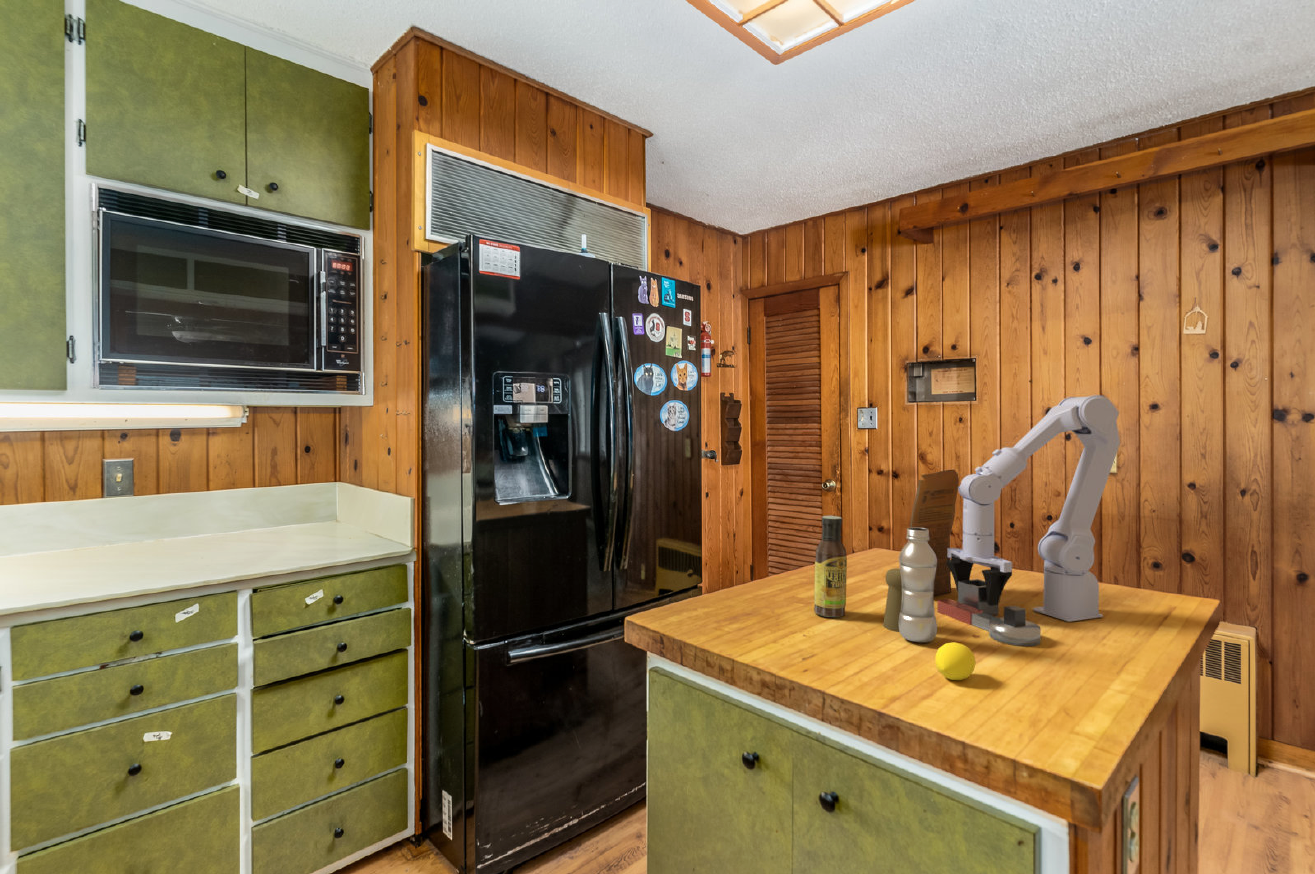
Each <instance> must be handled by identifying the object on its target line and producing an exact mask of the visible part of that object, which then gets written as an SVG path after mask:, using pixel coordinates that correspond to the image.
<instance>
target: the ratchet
mask: <svg viewBox="0 0 1315 874" xmlns="http://www.w3.org/2000/svg"><path fill="white" fill-rule="evenodd" d="M1026 611H1027V609H1026V608H1022V607H1020V606H1017V605H1008V606H1003V617H998V616H996V615H993V616H992V615H989V614H986V613H984V612H983V611H982V610H979V609H976V608H974V607H971V606H968V605H965V604H962V603H959V602H958V600H953V599H951V598H946V599H938V600H937V613H939V614H941V615H944V614H946V615H945V616H947V615H948V616H947V617H949V616H950V618H952V619H955V620H957V619H958V620H957V621H960V622H962V623H965V624H967V623H968V624H967V625H971V626H974V627H977V628H979V629H981V628H982V630H985V631H986V630H987V632H988V633H989V634H988V635H989V637H990V638H991V639H992V638H993V639H992V640H994V641H996V640H997V642H999V643H1001V642H1003V643H1002V644H1005V643H1007V644H1006V645H1009V644H1011V646H1015V645H1016V646H1018V647H1036V646H1039V645H1040V644H1041V638H1042V636H1041V634H1042V632H1041V631H1042V630H1041V626H1040V625H1039V624H1037V623H1034V622H1032V621H1029V620H1026Z"/></svg>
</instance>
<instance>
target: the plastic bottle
mask: <svg viewBox="0 0 1315 874" xmlns="http://www.w3.org/2000/svg"><path fill="white" fill-rule="evenodd" d="M905 537H906V538H905V539H906V540H907V543H905V544H904V546H903V547H902V549H901V551H899V555H898V563H899V565H898V566H899V569H900V572H901V582H902V601H901V612H900V615H899V622H898V626H899V632H898V633H900V635H901V637H902V638H903V639H906V640H907V641H911V642H914V643H929V642H932V641H933V640H934V639H935V638H936V636H937V631H938V624H937V618H936V613H935V612H936V611H935V600H934V597H933V594H934V591H933V590H934V579H935V573H936V566H937V558H936V555H935V553H934V551H933V550H932V548H931V547H930V546H929V544H928V542H927V541H928V540H929V531H928V529H926V528H918V527H911V528H910V527H907V528H906V536H905Z"/></svg>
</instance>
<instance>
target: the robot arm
mask: <svg viewBox="0 0 1315 874" xmlns="http://www.w3.org/2000/svg"><path fill="white" fill-rule="evenodd" d="M1119 415H1120V411H1119V410H1118V409H1117V408H1116V405H1115V404H1113V402H1112V401H1111V399H1109V398H1108V397H1106V396H1104V395H1101V394H1094V395H1090V396H1069V397H1065V398H1064V399H1062V400H1061V401H1060V402H1059V403H1058V404H1057V405H1055V406H1053V407H1051V408H1050V409H1049V411H1048V412H1047V413H1046V415H1045V416H1044V417H1042V418H1041V420H1039V421H1038V422H1037V423H1036V424H1035V425H1034V426H1033V427H1032V428H1030V430H1029V431H1028V432H1027V433H1026V434H1025V435H1024V436H1022V438H1020V440H1018V442H1017V443H1016V444H1015V445H1014V446H1013V447H1007V446H1006V447H1001V449H998V448H997V449H995V450H994V451H993V452H992V453H991V454H992V456H991V458H990V459H988V460H987V461H986V462H984V464H983V465H981V466H977V467H976V468H975V469H974V471H975V473H972V474H968V475H966V476H965V477H963V478H962V480H961V482H960V485H959V487H958V493H959V495H960V496H961V498H962V500H963V504H962V507H963V508H962V509H963V510H962V548H957V547H950V548H947V557H949V558H950V560H948V561H946V564H947V566H948V567H949V569H950V571H951V575H952V577H953V581H954V584H955V587H956V591H957V593H958V581H965V580H971V573H972V570H973V567H974V564H975V565H979V566H982V567H986V568H990V569H982V570H981V573H982V576H983V580H984V581H985V583H986V591H987V603H988V605H990V606H993V605H998V604H1000V600H1001V596H1002V593H1003V591H1004V589H1005V586H1006V585H1007V583H1008V581H1009V579H1010V578H1011V577H1012V576H1013V561H1009V560H1007V559H1004V558H1002V557H999V556H997V555H995V501H998V500H999V498H1000V496H1001V493H1002V489H1004V488H1005V487H1006V486H1008V485H1009V483H1011V482H1012V481H1013V480H1014V479H1015V478H1017V476H1019V475H1020V474H1021V473H1022V472H1023V471H1024V470H1026V469H1027V466H1028V458H1030V457H1031V456H1032V455H1033V454H1035V453H1036V452H1037V451H1039V450H1040V449H1042V447H1044V446H1045V445H1047V444H1048V443H1049V442H1050V441H1051V440H1053V439H1054V438H1055V437H1057V436H1058V435H1059V434H1061V433H1066V432H1071V433H1073V434H1074V435H1076V437H1077V438H1078V440H1079V441H1080V442H1081V444H1082V445H1083V450H1082V452H1081V456H1080V458H1079V460H1078V463H1077V467H1076V469H1075V472H1074V476H1073V478H1072V480H1071V483H1070V486H1069V490H1068V492H1067V496H1066V498H1065V500H1064V503H1063V507H1062V509H1061V513H1060V516H1059V519H1057V520H1056V521H1055V522H1053V523H1052V524H1051V525H1050V526H1049V528H1048V530H1047V533H1046V534H1044V535H1043V537H1042V538H1040V540H1039V542H1038V544H1037V551H1038V552H1037V553H1038V555H1039V557H1040V558H1041V559H1042V560H1043V561H1044V562H1043V563H1044V564H1043V606H1038V607H1033V608H1032V611H1034V612H1037V613H1041V614H1043V615H1046V616H1049V617H1052V618H1056V619H1058V620H1062V621H1065V622H1075V621H1083V620H1088V619H1089V620H1090V619H1097V618H1098V619H1099V618H1103V617H1104V615H1103V614H1102V613H1099V608H1100V601H1099V599H1100V592H1099V591H1100V585H1099V581H1098V579H1097V577H1096V576H1095V574H1093V573H1092V572H1091V571H1090V570H1091V567H1093V565H1094V563H1095V553H1094V546H1095V543H1096V539H1095V537H1094V534H1093V532H1092V530H1091V527H1092V524H1093V521H1094V519H1095V516H1096V514H1097V510H1098V508H1099V505H1100V502H1101V499H1102V496H1103V493H1104V490H1105V488H1106V485H1107V482H1108V479H1109V476H1110V473H1111V470H1112V468H1113V465H1114V462H1115V459H1116V456H1117V453H1118V450H1119V447H1120V444H1121V441H1120V434H1119V429H1118V428H1119V427H1118V422H1117V420H1118V417H1119Z"/></svg>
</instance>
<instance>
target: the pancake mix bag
mask: <svg viewBox="0 0 1315 874" xmlns="http://www.w3.org/2000/svg"><path fill="white" fill-rule="evenodd" d="M959 480H960V479H959V474H958V472H957V471H956V470H955V469H947V470H939V471H938V472H935V473H934V472H933V473H926V474H922V475H920V479H919V480H918V486H917V490H916V492H915V499H914V502H913V507H912V510H911V516H910V522H909V528H911V527H918V528H926V529H928V531H929V540H928V541H927V542H928V544H929V546H930V547H931V548H932V550H933V551H934V553H935V555H936V558H937V566H936V573H935V579H934V590H933V591H934V594H933V598H934V597H937V596H940V595H945V594H948V593H952V579H951V577H952V576H951V575H952V573H951V571H950V569H949V567H948V566H947V564H946V561H948V560H951V558H949V557H947V548H951V534H952V528H953V526H954V521H955V515H956V504H957V503H956V502H957V497H958V493H959V490H958V487H959V486H960V485H959Z"/></svg>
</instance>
